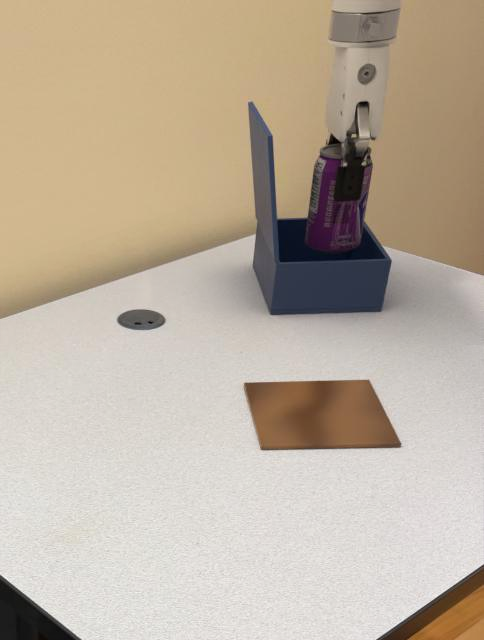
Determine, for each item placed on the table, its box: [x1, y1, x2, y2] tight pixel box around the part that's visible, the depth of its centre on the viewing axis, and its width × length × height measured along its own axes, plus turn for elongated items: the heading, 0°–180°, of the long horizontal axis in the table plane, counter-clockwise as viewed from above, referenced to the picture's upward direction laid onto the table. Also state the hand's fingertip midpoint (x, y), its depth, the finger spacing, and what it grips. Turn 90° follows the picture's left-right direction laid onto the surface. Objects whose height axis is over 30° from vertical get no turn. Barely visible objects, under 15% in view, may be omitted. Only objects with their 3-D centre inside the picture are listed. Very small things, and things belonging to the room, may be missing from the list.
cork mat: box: [243, 379, 402, 450], centre depth 96 cm, size 14×14×1 cm
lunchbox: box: [252, 216, 393, 316], centre depth 120 cm, size 14×17×7 cm
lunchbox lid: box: [247, 101, 279, 261], centre depth 114 cm, size 15×17×1 cm
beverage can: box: [305, 143, 374, 254], centre depth 115 cm, size 7×7×12 cm
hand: (339, 190), depth 114 cm, fingers closed on beverage can, 7 cm apart
